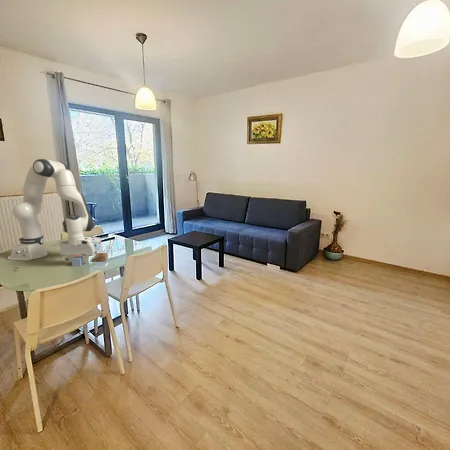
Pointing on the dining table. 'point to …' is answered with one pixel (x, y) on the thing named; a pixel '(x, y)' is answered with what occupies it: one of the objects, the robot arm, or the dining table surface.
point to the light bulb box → (96, 245)
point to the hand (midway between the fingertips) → (79, 260)
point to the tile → (101, 264)
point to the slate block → (77, 261)
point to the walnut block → (100, 257)
